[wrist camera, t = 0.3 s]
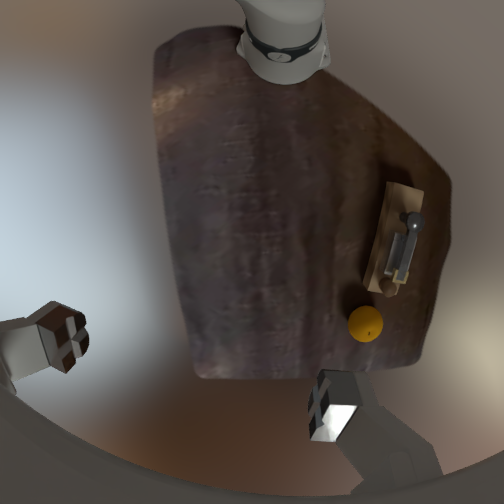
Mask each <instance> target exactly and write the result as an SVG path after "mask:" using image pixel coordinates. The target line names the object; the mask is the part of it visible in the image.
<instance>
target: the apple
mask: <svg viewBox="0 0 504 504" xmlns="http://www.w3.org/2000/svg"><path fill="white" fill-rule="evenodd" d="M382 327H383V320H382V317H381V314H380V313H379V311H378V310H377V309H376V308H374V307H372V306H361V307H359V308H357V309H355V310H354V311H353V312H352V314H351V315H350V317H349V320H348V329H349V331H350V334H351V335H352V336H353V337H354V338H355V339H356V340H358V341H361V342H368V341H371V340H373V339H375V338H376V337H377V336H378V335H379V334H380V333H381V330H382Z"/></svg>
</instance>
